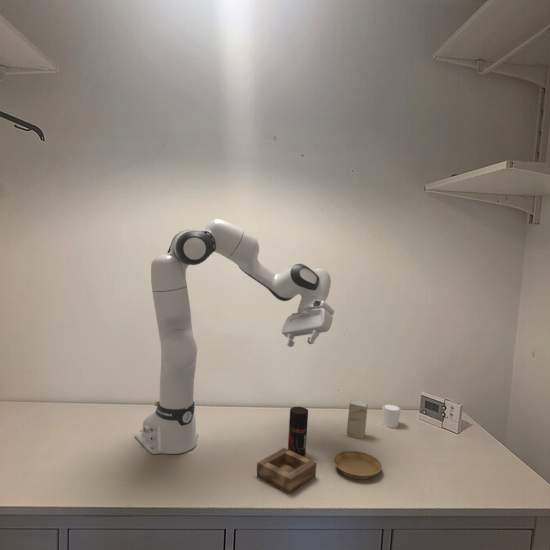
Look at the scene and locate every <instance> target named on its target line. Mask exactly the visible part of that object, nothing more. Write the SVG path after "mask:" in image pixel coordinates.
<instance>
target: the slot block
mask: <svg viewBox="0 0 550 550" xmlns="http://www.w3.org/2000/svg"><path fill="white" fill-rule="evenodd" d="M316 475H317V462H316V461H313V460H312V459H309V458H307V457H306V456H305V457H303V456H301V455H299V454H296V453H294V452H292V451H290V450H288V448H285V447H283V448H281V449H279V450H277V451H275V452H273V453H272V454H270V455H268V456H266V457H264V458H263V459H261V460H260V461H259V460H258V461H257V464H256V478H258V479H260V480H261V481H264V482H265V483H267V484H268V485H270V486H273V487H274V488H276V489H278V490H280V491H282V492H283V493H286V494H288V495H289V496H291V495H292V494H293V493H295V492H296V491H298V490H299V489H301V488H302V487H304V485H307V484H308V483H309V482H310V481H312V480H313V479H315V478H316V477H317V476H316Z"/></svg>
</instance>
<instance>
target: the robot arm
mask: <svg viewBox="0 0 550 550" xmlns="http://www.w3.org/2000/svg"><path fill="white" fill-rule="evenodd" d="M214 253H217V254H219V255H220V256H222V257H224V258H226V259H228V260H229V261H232V262H233V263H234V264H236V265H237V266H238V268H239V269H240V270H241V271H242V272H243V273H244V274H245V275H247V276H248V277H250V278H251V279H253V280H254V281H255V282H257V283H258V284H260V285H262V286H263V287H264V288H266V289H267V290H268V291H269V292H270V293H271V294H272V296H274V297H275V299H277V300H279V301H282V302H288V301H290V300H292V299H293V298H295V297H296V296H298V295H299V296H301V298H300V301H299V304H298V307H297V311H296V312H294V313H291V315H289V316H287V318H286V320H285V322H284V324H283V326H282V329H281V334H282V335H284V337H286V338H287V344H286V345H287V346H288V347H290V348H292V347H294V346H295V341H294V339H295V337H301V336H308V335H310V337H307V342H306V343H307V344H308V345H314V344H315V341H316V339H317V338H318V337H319V336H320V333H327V332H329V330H330V329H331V328H332V323H333V318H334V317H333V315H334V314H335V310H334V309H333V308H332V307H331V306H330V305H329V304H328V303H327V302H326V301H327V299H328V296H329V293H330V290H331V284H332V282H331V281H332V279H331V275H330V274H329V272H328V271H327V270H325V269H323V268H320V267H319V268H318V267H316V268H312V267H309V266H308V265H305V264H303V263H296V264H294V265H292V266H291V267H289V268H287V269H286V270H285V271H283V272H282V273H275V272H274V271H272V270H271V269H269V268H268V267H266V265H264V264H262V263H261V262H260V261H259V259H258V257H259V253H260V245H259V242H258V239H257V238H256V236H254V235H253V234H251V233H250V232H248V231H246V230H245V229H243V228H242V227H240V226H238V225H235V224H233V223H231V222H228V221H226V220H223V219H220V218H214V219H212V220H210V221H209V222H208V223H207V224H206V225H205V227H204V229H203V230H194V229H186V230H182V231H179V232H178V233H177V234H175V235H174V237H173V238H172V241H171V243H170V245H169V248H168V250H167V253H164V254H160V255H158V256H156V257H154V259H153V260H152V261H151V264H150V266H151V267H150V283H151V284H150V285H151V291H152V298H153V302H154V303H153V304H154V305H153V307H154V311H155V316H156V317H155V318H156V324H157V329H158V336H159V341H160V349H161V351H160V354H161V355H160V356H161V357H160V374H159V375H160V376H159V399H158V400H159V401H157V402H156V401H155V404H154V407H156V408H155V411H154V412H153V413H151V414H150V415H148V416H147V417H145V419H144V420H143V423H142V429H139V430H138V431H137V432H135V434H134V438H135V439H137V441H138V442H139V443H140V444H141V445H142V446H143V447H144V448H145V450H147V451H148V452H149V453H150V454H153V455H156V454H157V455H159V454H165V455H166V454H167V455H175V454H177V455H178V454H182V453H186V452H188V451H191V450H192V449H194V448H196V445H197V443H198V442H197V441H198V440H197V438H198V437H199V432H198V431H197V425H196V423H197V422H196V414H195V409H196V407H195V400H194V395H195V392H194V391H195V390H194V389H195V376H196V375H195V374H196V369H197V368H196V366H197V355H198V347H197V343H196V341H195V338H194V333H193V323H192V316H191V315H192V314H191V313H192V312H191V306H190V305H191V304H190V296H189V290H188V283H187V279H186V278H187V277H186V274H187V273H186V272H187V269H188V267H189V266H196V265H200V264H202V263H204V262H205V261H206V260H208V259H209V257H210V256H211V255H212V254H214Z"/></svg>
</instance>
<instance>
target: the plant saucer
mask: <svg viewBox="0 0 550 550" xmlns="http://www.w3.org/2000/svg"><path fill="white" fill-rule="evenodd" d="M333 463H334V465H335V467H336V468H337V469H338V470H339V471H340V473H341V474H343V475H345V476H346V477H349V478H350V479H355V480H368V479H371V478H373V477H375V476H376V475H377V474H379V472H381V470H382V463H381V461H380V460H378V459H377V458H376V456H375V457H374V456H373V455H371V454H369V453H366V452H362V451H358V450H345V451H340V452H339V453H336V454H335V455H334V456H333Z"/></svg>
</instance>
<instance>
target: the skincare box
mask: <svg viewBox="0 0 550 550" xmlns="http://www.w3.org/2000/svg"><path fill="white" fill-rule="evenodd" d="M368 408H369V403H368V402H364V401H360V400H354V399H351V400H350V402H349V405H348V416H347V426H346V436H349V437H352V438H357V439H361V440H363V439H364V438H365V436H366V430H367V429H366V427H367V417H368Z"/></svg>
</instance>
